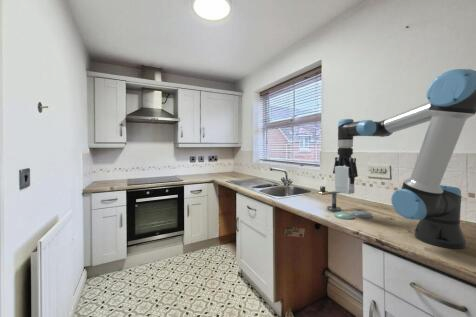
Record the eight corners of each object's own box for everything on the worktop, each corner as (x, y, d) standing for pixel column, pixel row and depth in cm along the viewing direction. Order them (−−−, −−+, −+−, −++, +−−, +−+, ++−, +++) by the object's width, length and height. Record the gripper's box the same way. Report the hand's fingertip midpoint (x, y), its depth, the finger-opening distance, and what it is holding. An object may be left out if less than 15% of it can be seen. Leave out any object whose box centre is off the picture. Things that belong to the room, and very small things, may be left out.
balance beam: (353, 192, 131) (353, 184, 130) (321, 196, 126) (320, 188, 126) (346, 190, 137) (346, 183, 137) (315, 194, 133) (315, 186, 133)
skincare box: (354, 193, 115) (355, 166, 115) (348, 194, 112) (349, 166, 111) (339, 190, 122) (340, 165, 122) (333, 191, 119) (334, 165, 118)
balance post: (344, 210, 129) (344, 194, 129) (332, 211, 127) (332, 195, 127) (335, 207, 137) (335, 191, 136) (324, 207, 135) (324, 192, 135)
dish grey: (376, 217, 116) (376, 215, 116) (360, 218, 114) (360, 216, 114) (362, 212, 126) (362, 210, 126) (347, 213, 124) (347, 210, 124)
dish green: (358, 218, 114) (358, 216, 114) (341, 220, 112) (341, 217, 112) (345, 213, 124) (345, 211, 123) (330, 214, 122) (330, 212, 122)
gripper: (366, 147, 106) (365, 191, 107) (338, 147, 128) (337, 184, 129) (353, 147, 105) (352, 192, 106) (326, 147, 126) (326, 184, 127)
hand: (344, 188), depth 117 cm, fingers closed on skincare box, 9 cm apart
